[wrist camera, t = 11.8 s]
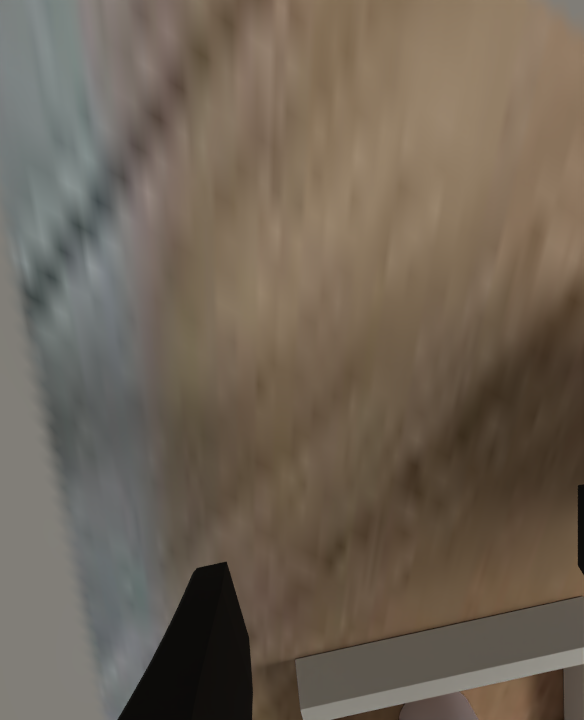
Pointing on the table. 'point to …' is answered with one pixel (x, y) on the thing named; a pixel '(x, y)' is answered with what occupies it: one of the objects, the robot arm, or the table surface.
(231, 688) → the robot arm
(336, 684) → the white shallow square frame
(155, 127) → the table surface
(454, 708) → the smoothie
